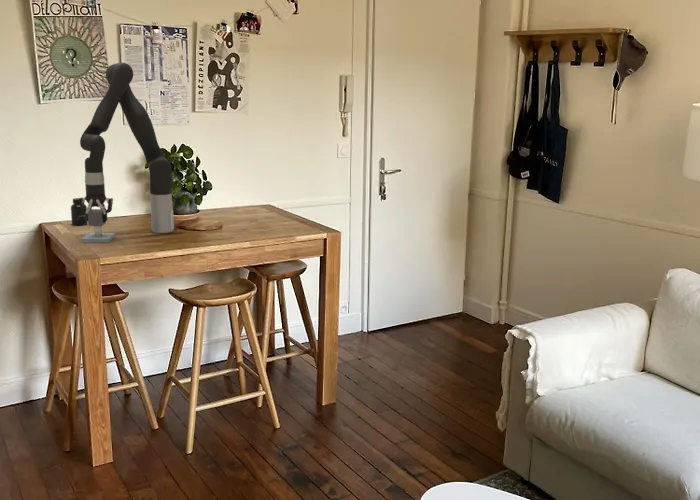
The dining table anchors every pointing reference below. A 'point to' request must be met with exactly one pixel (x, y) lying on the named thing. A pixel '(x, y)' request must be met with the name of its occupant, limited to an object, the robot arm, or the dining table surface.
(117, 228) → the dining table surface
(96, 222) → the block
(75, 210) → the supplement bottle
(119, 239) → the dining table surface
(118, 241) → the dining table surface
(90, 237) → the post base
